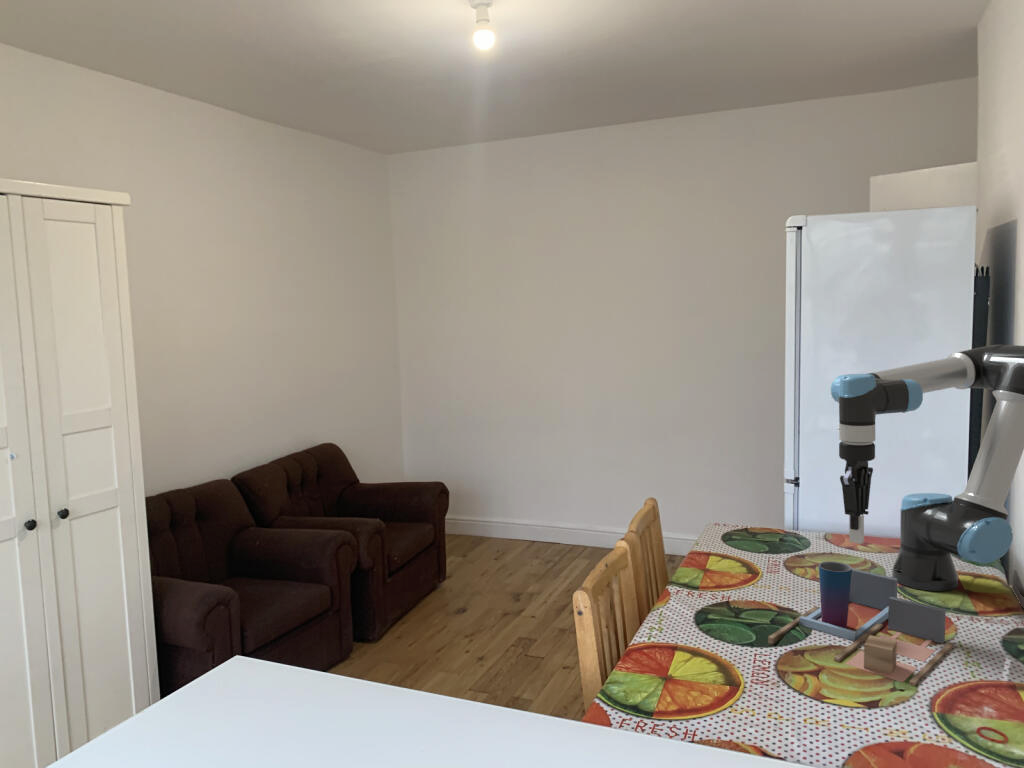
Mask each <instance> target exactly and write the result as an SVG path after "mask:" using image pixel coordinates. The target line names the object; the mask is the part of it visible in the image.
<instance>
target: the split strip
mask: <svg viewBox="0 0 1024 768" xmlns="http://www.w3.org/2000/svg"><path fill="white" fill-rule="evenodd" d="M946 610H947V609H944V608H940V607H936V606H932V605H927V604H925V603H924V604H923V603H920V602H915V601H912V600H907V599H904V598H898V597H897V598H895V597H890V598H889V613H888V619H887V620H888V621H887V623H888V624H887V625H888V626H887V627H888V628H887V630H891V631H894V632H895V633H894V634H892V635H891V637H890V636H886V635H882V634H880V635H878V637H881V638H886V639H890V640H895V641H897V654H896V655H899V656H902V657H906V658H910V659H911V660H912V659H913V660H916V661H919V662H924V663H925V662H926V660H927V659H928V658H929V657H930V656H932V655H933V654H934V652H936V650H935V649H934V648H933V649H932V648H929V647H928V646H929V644H931V643H932V642H935V643H939V644H944V643H945V642H946V638H945V637H946ZM902 634H904V635H905V634H906V635H908V636H913V637H917V638H919V639H920V638H921V639H923V640H925V641H924V642H922V643H921V644H920V645H918V644H915V643H912V642H911V643H910V642H907V641H903V640H901V639H897V638H899V636H900V635H902ZM844 665H847V666H851V667H854V668H856V669H859V670H863V671H865V672H868V673H872V674H876V675H878V676H880V677H884V678H888V679H891V680H894V681H897V682H900V683H904V682H905V681H906V680H907V679H908V678H909V677H910V676H911V675H912V674H913V673H914V672H915V671H916V670H917V669H918V666H917V667H916V666H913V665H910V664H907V663H903V662H900V661H897V660H896V666H895V669H894V671H893V673H892V675H890V674H885V673H881V672H877V671H873V670H869V669H864V650H860V651H858V653H856V654H855V655H854V656H853V657H851V658H850V659H849V660H848V661H847V662H845V663H844Z"/></svg>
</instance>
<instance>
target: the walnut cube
mask: <svg viewBox="0 0 1024 768" xmlns="http://www.w3.org/2000/svg"><path fill="white" fill-rule="evenodd" d="M863 651H864V669H869V670H873V671H877V672H881V673H885V674H890V675H892V673H893V671H894V669H895V666H896V661H897V655H898V654H897V641H895V640H890V639H886V638H881V637H879V636H876V635H869V637H868V639H867V640H866V641H865V642H864V645H863Z"/></svg>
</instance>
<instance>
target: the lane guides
mask: <svg viewBox="0 0 1024 768" xmlns="http://www.w3.org/2000/svg"><path fill="white" fill-rule="evenodd" d="M820 607H821V606H820ZM820 607H819V606H814V607H812V608H810V609H809V610H807V611H806V612H805V613H802V615H800V616H798V617H797V618H795V619H793V620H792V621H790V622H789V623H787V624H786V625H784V626H782V627H781V628H780V629H778V630H776V631H775V632H773V633H772V634H770V635H768V637H767V644H769V645H775V643H778V642H779V641H780V640H782V639H783V638H784V637H785V636H786V635H787V634H788V632H790V630H792V629H793V628H795V627H797V626H798V625H799V617H801V616H803V617H807V616H808V615H810V614H811V613H813V612H814V611H816V610H817V609H819V608H820ZM883 627H884V626H883V623H881V624H880V623H877V624H876V625H875V626H874V627H872V628H871V629H870V630H868V631H867V632H866V633H865V634H863V635H862V636H861V637H860V638H858V639H857V640H856V641H853V642H852V643H851V644H849V645H848V646H847V647H845V648H844V649H843V650H842V651H841V652H839V653H838V654H836V655H835V656H834V657H833V661H834V662H837V663H839V662H841V661H843V659H845V658H846V657H847V656H849V654H851V653H852V652H854V650H856V649H857V648H859V647H860V646H861V645H862V644H863V643H865V642H866V641H867V639H868V637H869V635H872V636H874V635H875V633H878V631H879V630H881V629H883ZM954 646H955V643H953V642H950V641H948V642H947V643H946V644H945V645H944V646H943V647H942V648H941V649H940V650H939V651H938V652H937V653H935V655H933V657H932V658H931V659H930V660H929V661H927V662H926V664H925V665H924V666H923V667H922V668H920V670H919V671H917V673H915V675H913V676H912V678H911V679H910V680H909V681H908V685H910V686H914V687H915V686H916V685H917V684H919V683H920V681H921V680H922V679H924V677H926V675H928V673H929V672H930V671H932V669H933V668H934V667H935V666H936V665H937V664H938V663H939V662H940V661H941V660H942V659H943V658H944V657H945V656H946V655H947V654H948V653H949V652H950V651H951V650H952V649H953V648H954Z"/></svg>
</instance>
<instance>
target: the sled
mask: <svg viewBox="0 0 1024 768" xmlns="http://www.w3.org/2000/svg"><path fill="white" fill-rule="evenodd" d="M897 581H898V579H897V578H892V576H888V575H883V574H880V573H874V572H870V571H864V570H861V569H856V568H852V573H851V585H850V596H849V603H852V604H853V603H854V604H858V605H862V606H866V607H870V608H872V609H877V610H881V611H880V612H879V613H877V614H876V615H875V616H873V617H872V618H870V619H869V620H868V621H867V622H865V623H864V624H863V625H862V626H860V627H859V628H858V629H856V630H852V629H849V628H847V629H846V628H842V627H839V626H835V625H832V624H828V623H825V622H822V620H817V619H818V618H819V617H820V616H821V606H820V608H819V609H817V610H816V611H814V612H813V613H811V614H810V615H808V616H807V617H803V616H801V615H800V616H801V617H800V616H798V617H799V624H798V625H799V626H801V627H805V628H808V629H811V630H815V631H819V632H822V633H825V634H828V635H832V636H836V637H839V638H843V639H846V640H849V641H853V642H854V641H856V640H857V639H858V638H860V637H861V636H862V635H863V634H865V633H866V632H867V631H868V630H870V629H871V628H872V627H874V626H875V625H876V624H877V623H880V624H883V623H884V622H886V620H888V613H889V598H890V597H895V598H898V582H897Z"/></svg>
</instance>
